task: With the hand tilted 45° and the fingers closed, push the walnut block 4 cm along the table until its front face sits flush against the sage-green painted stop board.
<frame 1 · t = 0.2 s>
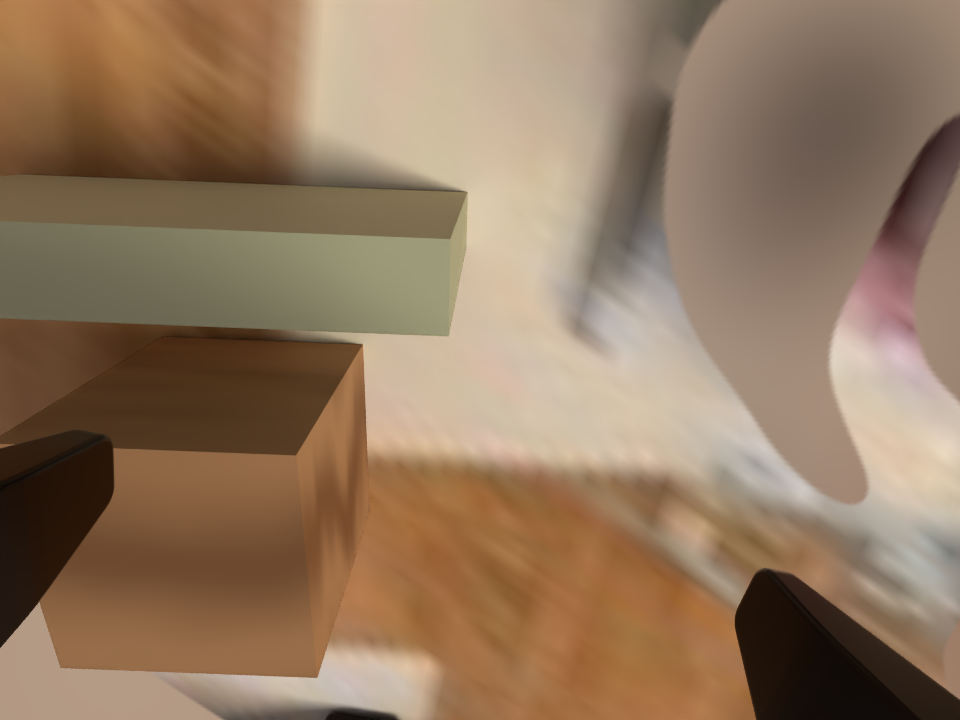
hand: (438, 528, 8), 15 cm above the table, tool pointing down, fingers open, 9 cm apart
stop board: (247, 211, 21), on the table
walnut block: (272, 428, 24), on the table
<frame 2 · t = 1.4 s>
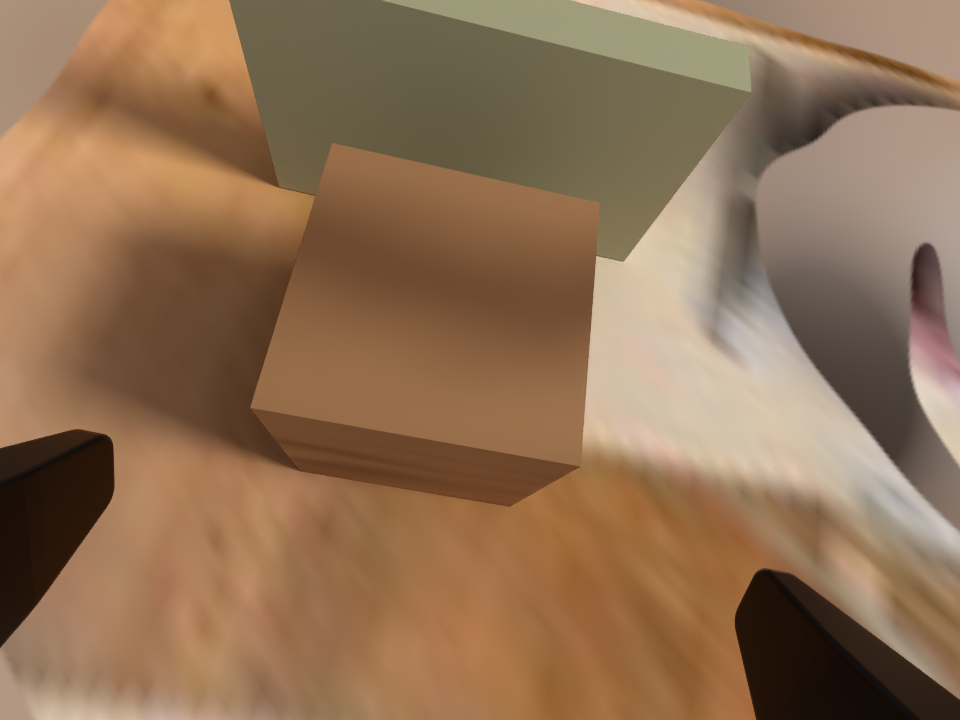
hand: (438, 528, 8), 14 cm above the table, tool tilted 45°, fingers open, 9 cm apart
stop board: (459, 207, 26), on the table
walnut block: (425, 390, 23), on the table
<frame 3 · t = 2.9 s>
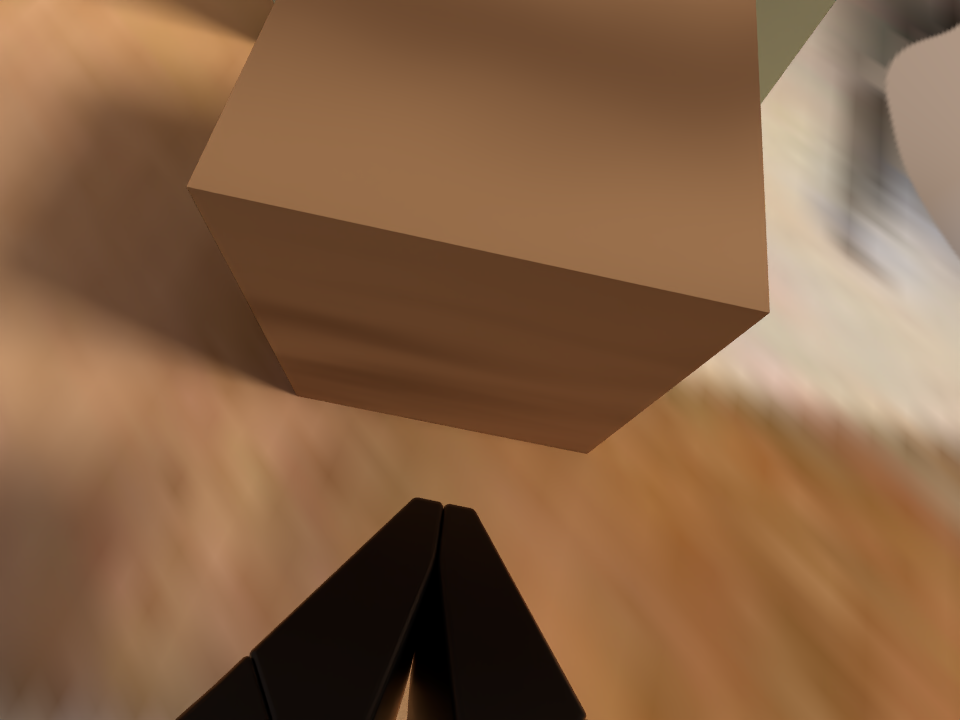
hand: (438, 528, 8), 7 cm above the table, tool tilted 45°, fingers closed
stop board: (512, 84, 20), on the table
walnut block: (469, 299, 17), on the table
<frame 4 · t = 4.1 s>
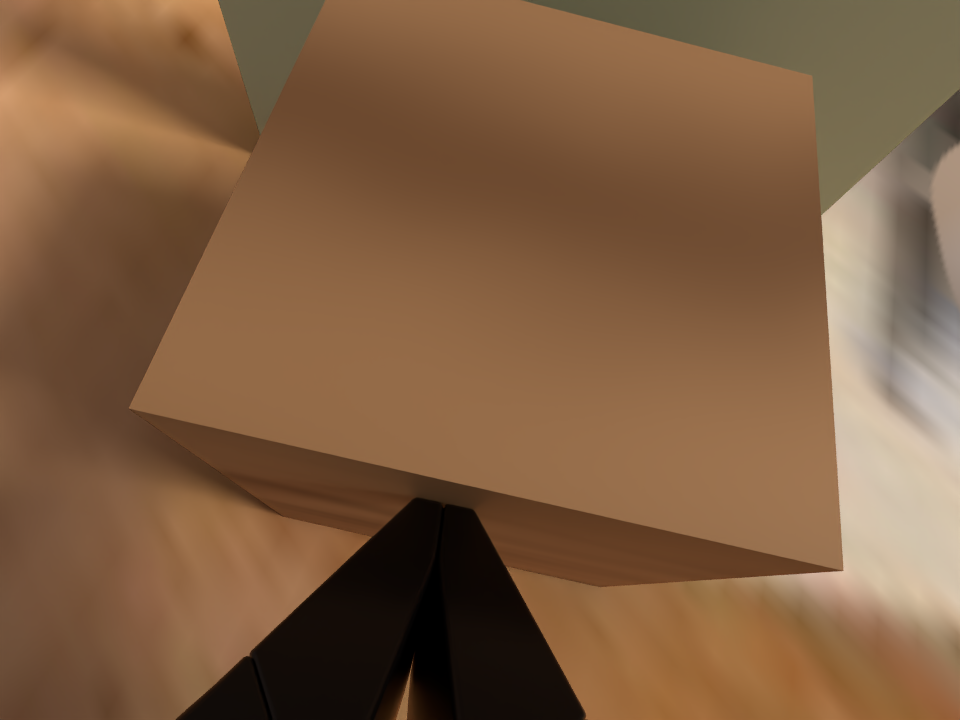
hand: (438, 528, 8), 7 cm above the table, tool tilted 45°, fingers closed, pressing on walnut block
stop board: (518, 195, 18), on the table
walnut block: (475, 402, 16), on the table, touching gripper
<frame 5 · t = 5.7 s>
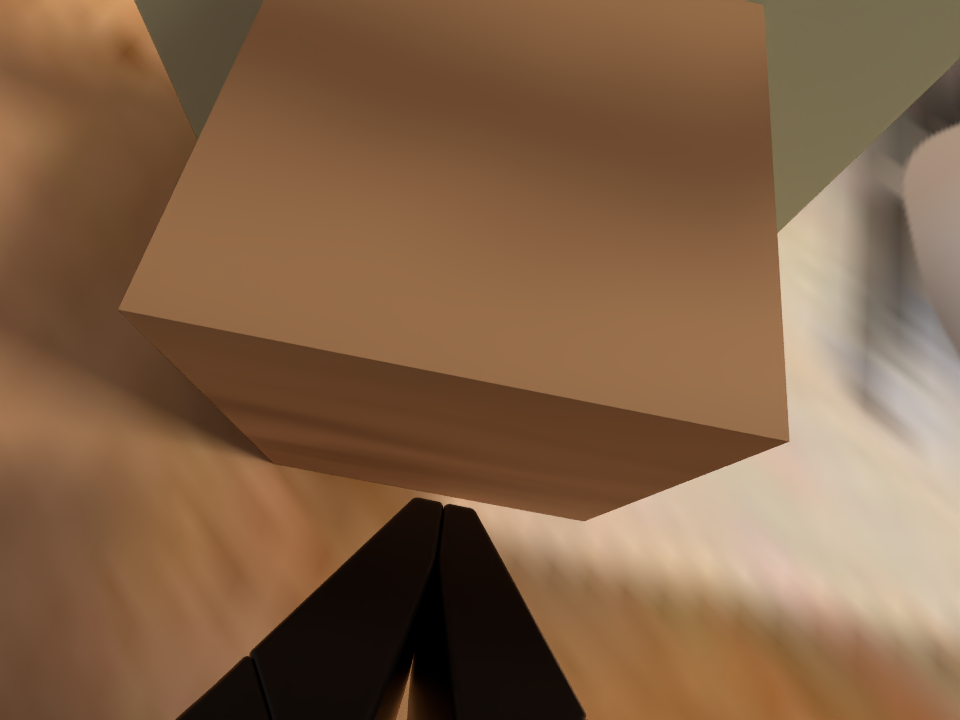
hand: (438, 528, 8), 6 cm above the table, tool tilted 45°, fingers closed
stop board: (480, 206, 18), on the table
walnut block: (458, 352, 16), on the table
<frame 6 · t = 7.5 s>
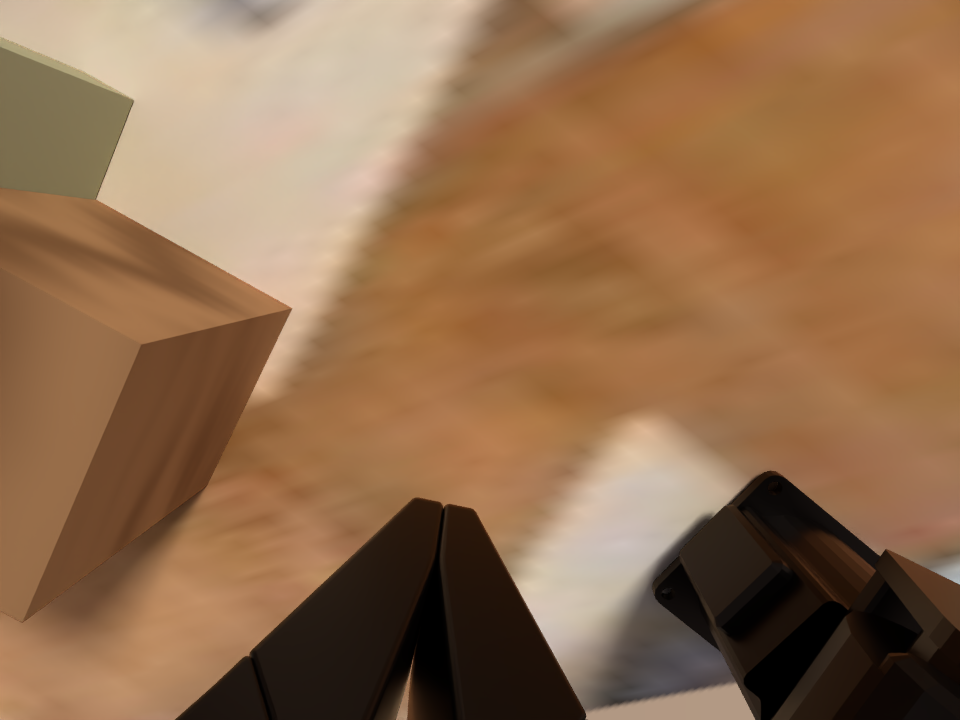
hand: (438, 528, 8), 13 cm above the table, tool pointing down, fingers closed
stop board: (31, 288, 21), on the table
walnut block: (155, 348, 21), on the table
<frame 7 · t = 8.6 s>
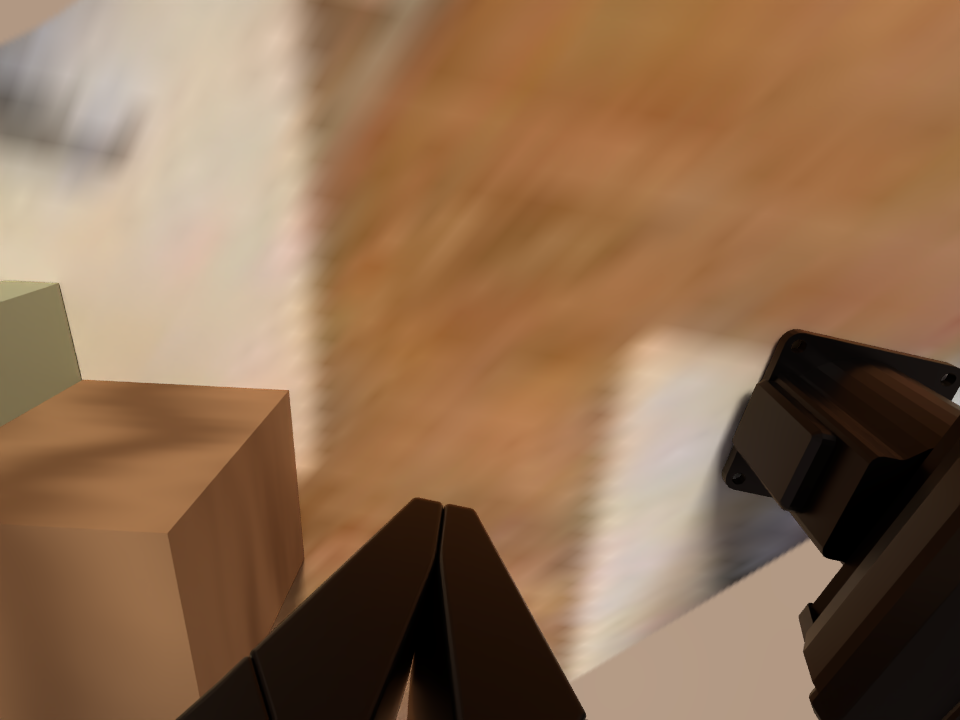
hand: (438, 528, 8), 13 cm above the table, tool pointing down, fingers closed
stop board: (79, 472, 23), on the table
walnut block: (200, 473, 23), on the table
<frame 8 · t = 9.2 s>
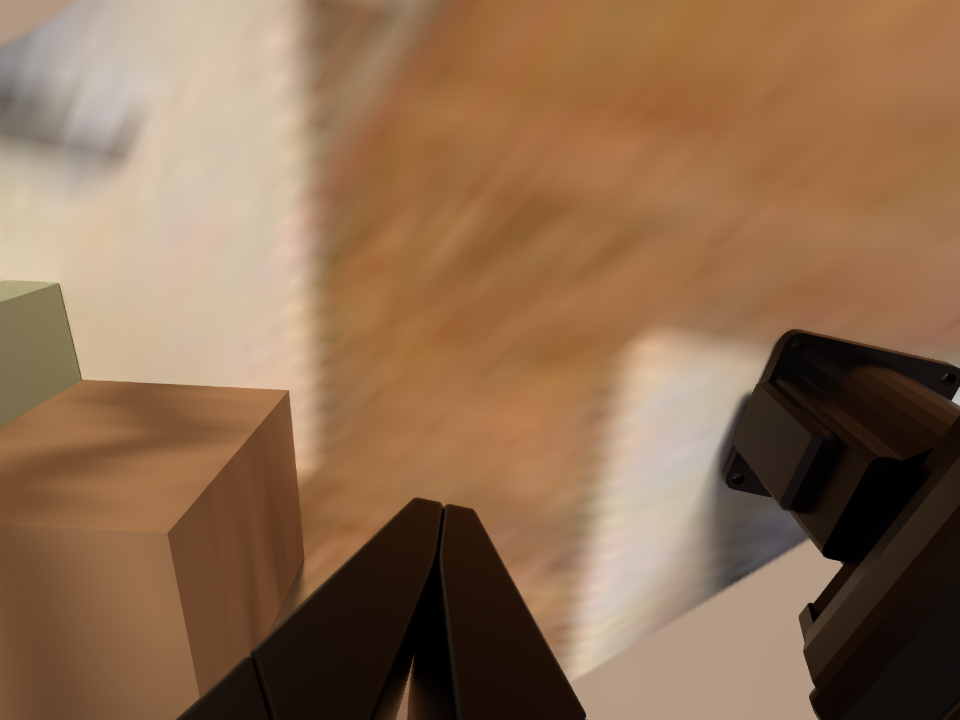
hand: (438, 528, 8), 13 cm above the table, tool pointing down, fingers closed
stop board: (79, 472, 23), on the table
walnut block: (200, 473, 23), on the table
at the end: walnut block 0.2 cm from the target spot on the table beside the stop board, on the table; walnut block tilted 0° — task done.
